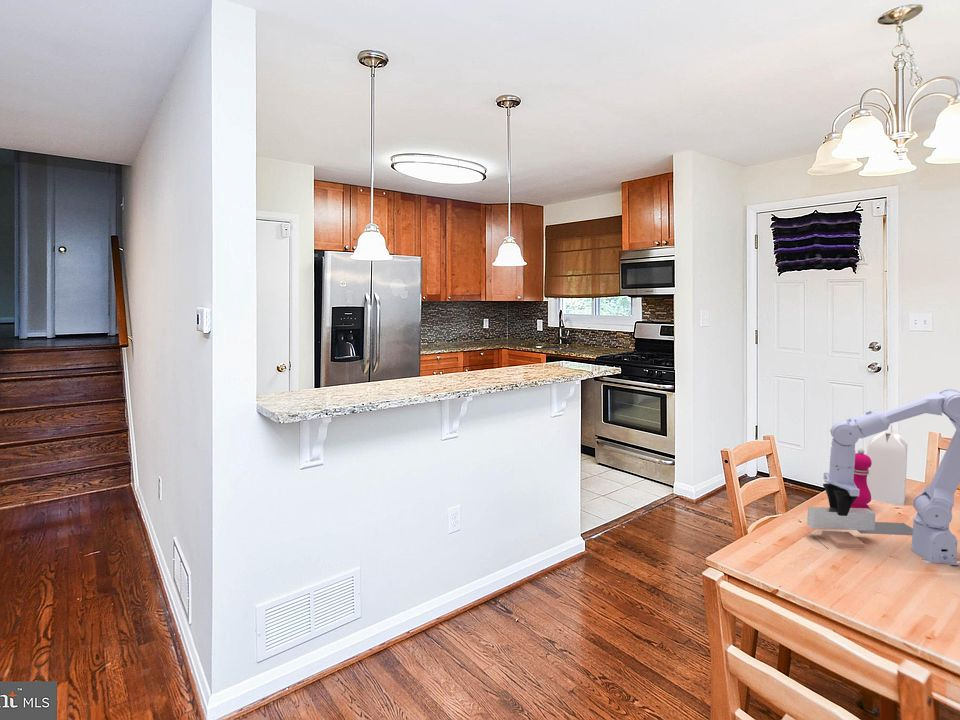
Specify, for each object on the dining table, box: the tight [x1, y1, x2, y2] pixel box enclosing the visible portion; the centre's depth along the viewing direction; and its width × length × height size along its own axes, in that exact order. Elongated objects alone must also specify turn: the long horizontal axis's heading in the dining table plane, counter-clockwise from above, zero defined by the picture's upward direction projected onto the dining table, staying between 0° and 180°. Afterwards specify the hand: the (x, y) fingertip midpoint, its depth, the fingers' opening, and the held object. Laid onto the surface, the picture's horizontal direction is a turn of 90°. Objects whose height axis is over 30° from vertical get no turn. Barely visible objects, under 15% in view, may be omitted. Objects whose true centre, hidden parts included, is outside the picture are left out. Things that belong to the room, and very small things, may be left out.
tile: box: [821, 530, 866, 550], centre depth 153 cm, size 2×7×8 cm
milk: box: [866, 423, 908, 507], centre depth 188 cm, size 12×12×26 cm
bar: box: [806, 506, 877, 531], centre depth 155 cm, size 4×16×5 cm, turn 84°
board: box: [856, 521, 913, 536], centre depth 162 cm, size 9×17×1 cm, turn 84°
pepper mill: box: [851, 448, 872, 509], centre depth 178 cm, size 7×7×20 cm
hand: (838, 512), depth 155 cm, fingers closed on bar, 3 cm apart
